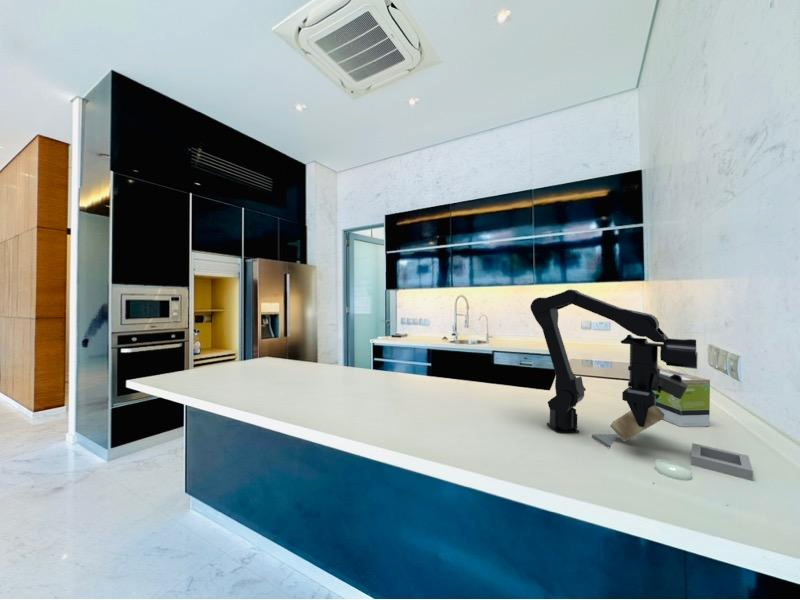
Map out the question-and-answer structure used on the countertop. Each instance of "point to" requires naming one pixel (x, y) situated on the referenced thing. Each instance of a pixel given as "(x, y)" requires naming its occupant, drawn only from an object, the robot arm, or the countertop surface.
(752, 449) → the countertop surface
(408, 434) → the countertop surface
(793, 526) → the countertop surface
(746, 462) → the stone holder
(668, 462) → the pale grey oval lump
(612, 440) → the slate board
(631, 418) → the wooden block
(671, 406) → the tea box
